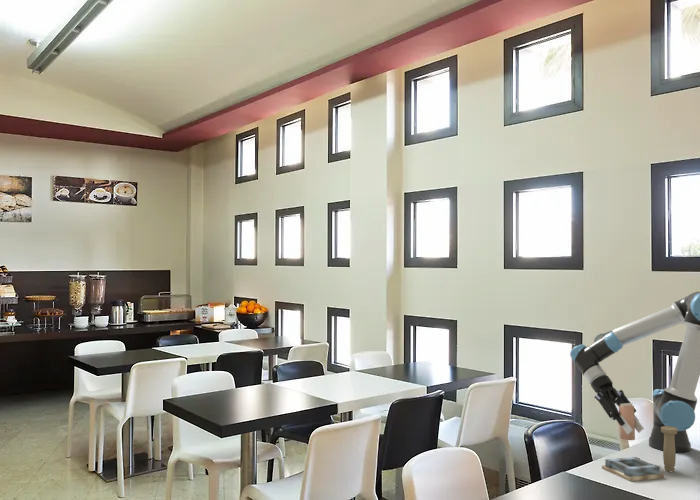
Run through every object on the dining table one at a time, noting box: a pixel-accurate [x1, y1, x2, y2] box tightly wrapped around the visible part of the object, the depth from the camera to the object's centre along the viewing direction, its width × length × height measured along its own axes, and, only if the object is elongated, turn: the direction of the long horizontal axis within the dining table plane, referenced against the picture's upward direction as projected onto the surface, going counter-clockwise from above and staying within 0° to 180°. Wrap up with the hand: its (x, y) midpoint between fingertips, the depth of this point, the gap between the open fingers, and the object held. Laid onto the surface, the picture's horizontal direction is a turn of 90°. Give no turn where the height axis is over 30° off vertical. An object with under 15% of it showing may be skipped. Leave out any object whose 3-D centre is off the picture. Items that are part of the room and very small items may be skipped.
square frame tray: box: [601, 456, 665, 482], centre depth 213 cm, size 14×14×4 cm
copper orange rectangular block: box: [618, 402, 636, 441], centre depth 227 cm, size 5×5×13 cm
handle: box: [661, 426, 678, 473], centre depth 216 cm, size 5×6×15 cm
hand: (635, 431), depth 224 cm, fingers closed on copper orange rectangular block, 5 cm apart
